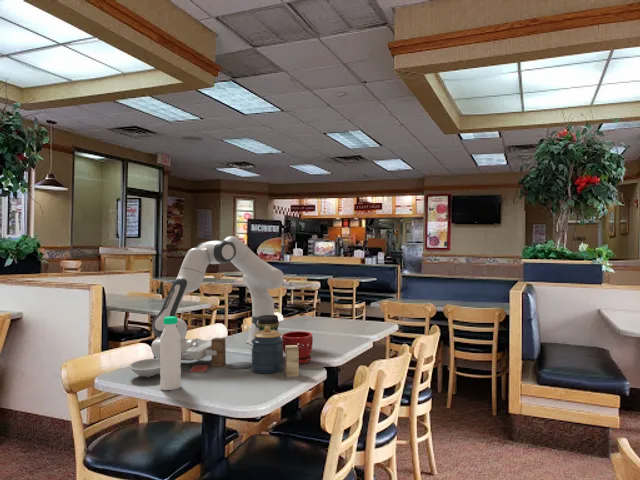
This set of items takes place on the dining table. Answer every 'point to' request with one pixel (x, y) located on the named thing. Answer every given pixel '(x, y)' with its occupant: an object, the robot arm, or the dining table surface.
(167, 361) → the water bottle
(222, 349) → the walnut block
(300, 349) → the plant pot
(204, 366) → the menu card
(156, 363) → the dish
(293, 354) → the maple block
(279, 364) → the canister
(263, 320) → the coffee jar
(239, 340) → the dining table surface
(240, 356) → the dining table surface
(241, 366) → the slate coaster
